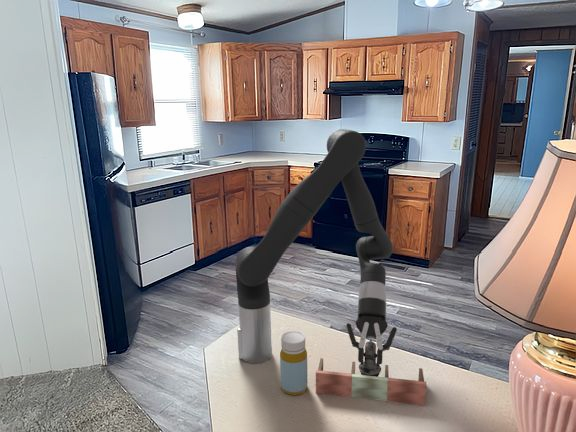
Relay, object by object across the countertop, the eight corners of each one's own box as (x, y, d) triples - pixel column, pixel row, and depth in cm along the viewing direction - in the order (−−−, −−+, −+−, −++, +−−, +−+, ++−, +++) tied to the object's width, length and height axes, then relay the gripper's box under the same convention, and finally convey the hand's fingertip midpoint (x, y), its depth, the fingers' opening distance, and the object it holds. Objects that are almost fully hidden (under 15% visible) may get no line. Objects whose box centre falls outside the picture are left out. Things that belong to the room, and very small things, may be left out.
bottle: (294, 376, 118) (293, 327, 114) (312, 387, 113) (312, 336, 109) (275, 387, 113) (274, 337, 109) (294, 400, 108) (293, 347, 104)
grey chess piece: (379, 373, 116) (381, 333, 113) (382, 387, 110) (383, 345, 107) (357, 372, 117) (358, 333, 114) (359, 386, 111) (360, 345, 108)
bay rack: (315, 392, 111) (315, 372, 109) (320, 370, 120) (320, 351, 118) (425, 405, 105) (426, 384, 104) (421, 381, 114) (422, 361, 113)
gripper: (346, 294, 117) (341, 359, 108) (399, 298, 114) (399, 364, 105) (347, 303, 123) (343, 365, 115) (397, 307, 120) (397, 370, 112)
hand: (370, 364), depth 110 cm, fingers closed on grey chess piece, 3 cm apart
